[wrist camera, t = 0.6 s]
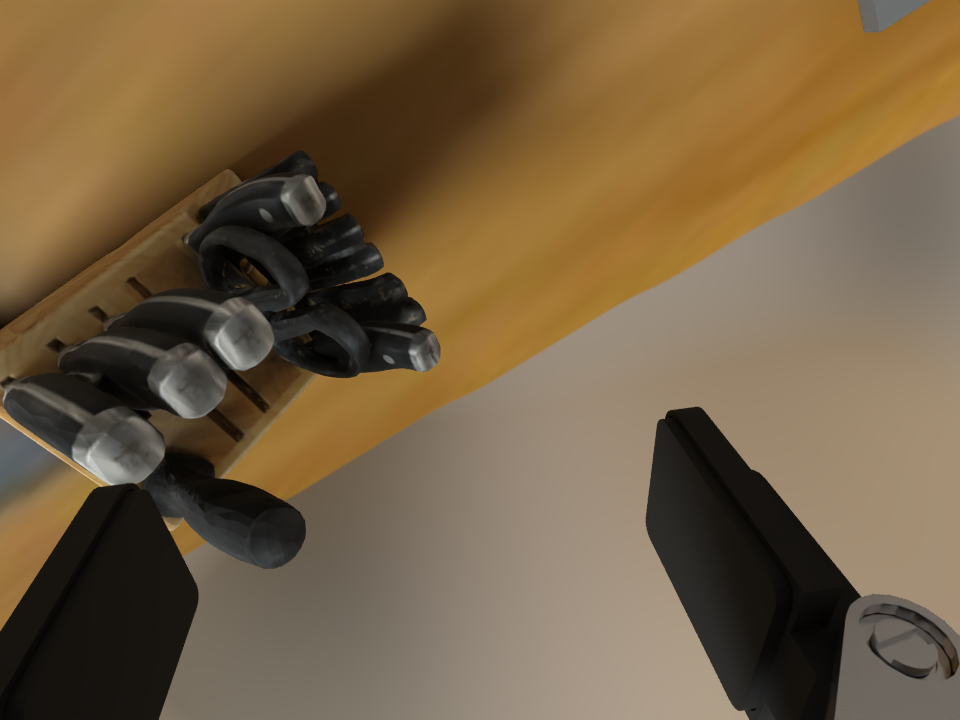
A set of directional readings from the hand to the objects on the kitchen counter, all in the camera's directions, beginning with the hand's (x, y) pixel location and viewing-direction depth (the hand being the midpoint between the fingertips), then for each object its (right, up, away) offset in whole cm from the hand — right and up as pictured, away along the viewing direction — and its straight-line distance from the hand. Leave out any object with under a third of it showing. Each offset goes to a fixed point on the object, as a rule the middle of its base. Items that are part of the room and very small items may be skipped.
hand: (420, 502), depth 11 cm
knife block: (-20, +9, +33) cm, 40 cm away
